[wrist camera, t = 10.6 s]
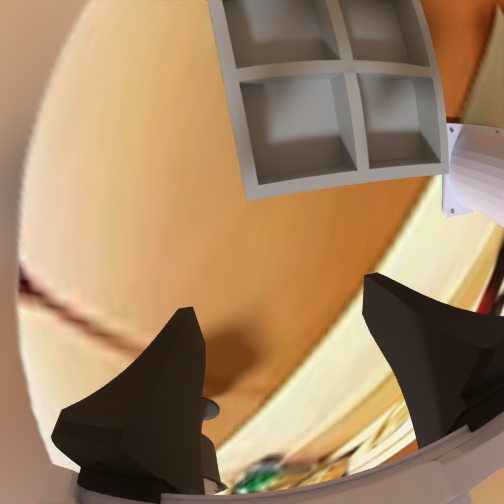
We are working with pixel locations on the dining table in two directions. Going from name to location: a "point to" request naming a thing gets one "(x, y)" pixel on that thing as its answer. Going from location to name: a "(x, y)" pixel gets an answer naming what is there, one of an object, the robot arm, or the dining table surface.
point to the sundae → (209, 451)
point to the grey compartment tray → (330, 92)
